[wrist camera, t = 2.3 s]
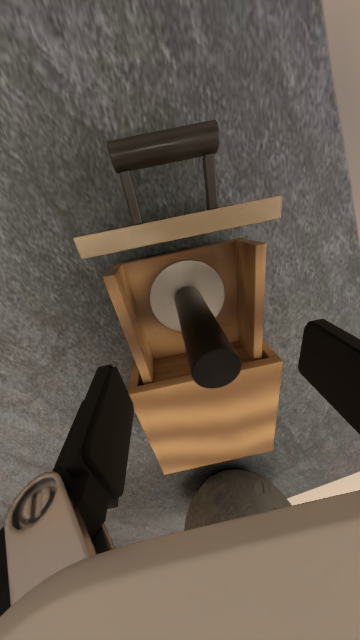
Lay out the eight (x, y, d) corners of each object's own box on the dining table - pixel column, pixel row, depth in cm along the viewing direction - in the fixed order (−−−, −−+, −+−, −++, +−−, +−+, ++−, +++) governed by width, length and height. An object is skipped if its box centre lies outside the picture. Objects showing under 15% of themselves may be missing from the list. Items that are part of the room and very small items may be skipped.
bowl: (283, 481, 43) (338, 594, 30) (202, 509, 46) (221, 625, 33) (261, 439, 34) (328, 578, 20) (160, 478, 36) (162, 624, 23)
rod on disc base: (140, 268, 15) (120, 324, 7) (220, 251, 15) (297, 286, 7) (159, 335, 19) (161, 429, 10) (225, 321, 19) (281, 402, 10)
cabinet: (135, 348, 21) (126, 395, 16) (249, 323, 22) (283, 361, 16) (163, 423, 28) (164, 474, 23) (249, 404, 29) (272, 450, 23)
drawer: (72, 167, 13) (31, 141, 9) (246, 132, 13) (290, 89, 9) (142, 360, 21) (139, 395, 17) (247, 338, 21) (270, 366, 17)
